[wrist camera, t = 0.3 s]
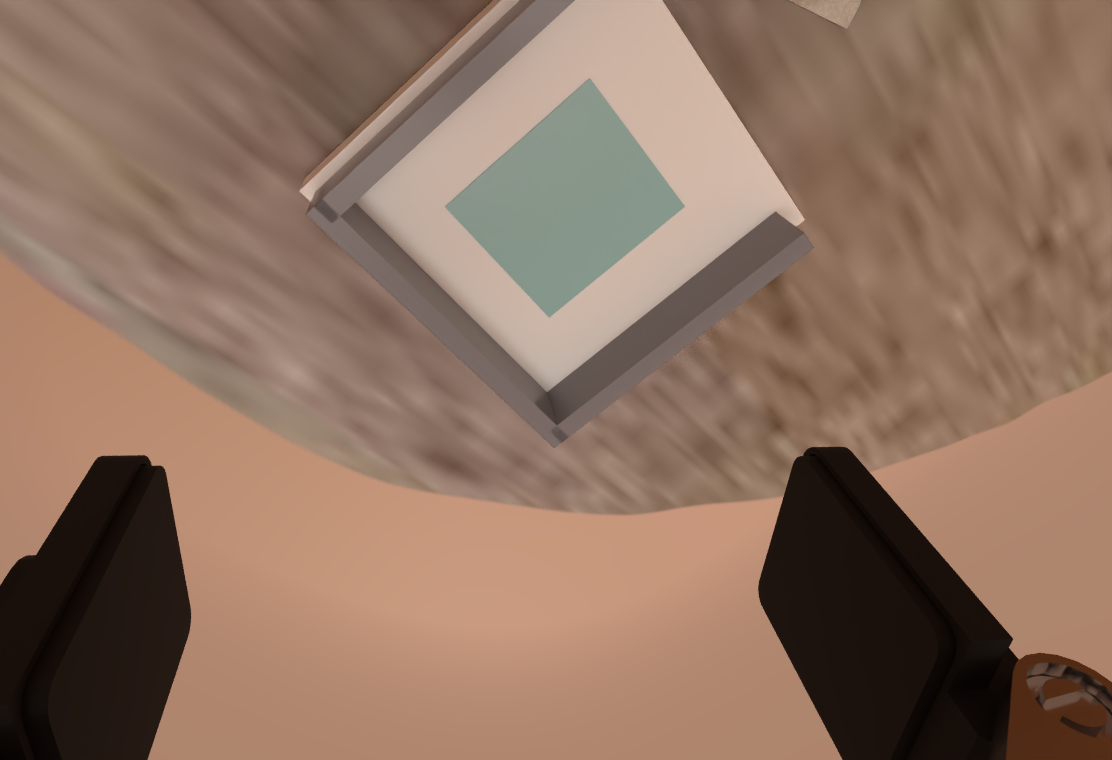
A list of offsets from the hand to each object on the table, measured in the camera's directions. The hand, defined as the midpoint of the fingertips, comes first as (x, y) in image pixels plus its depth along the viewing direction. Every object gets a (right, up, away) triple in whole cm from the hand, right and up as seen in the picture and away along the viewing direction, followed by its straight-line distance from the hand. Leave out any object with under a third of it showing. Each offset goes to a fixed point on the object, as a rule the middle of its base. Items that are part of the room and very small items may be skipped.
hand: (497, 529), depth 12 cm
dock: (+1, +12, +29) cm, 31 cm away
